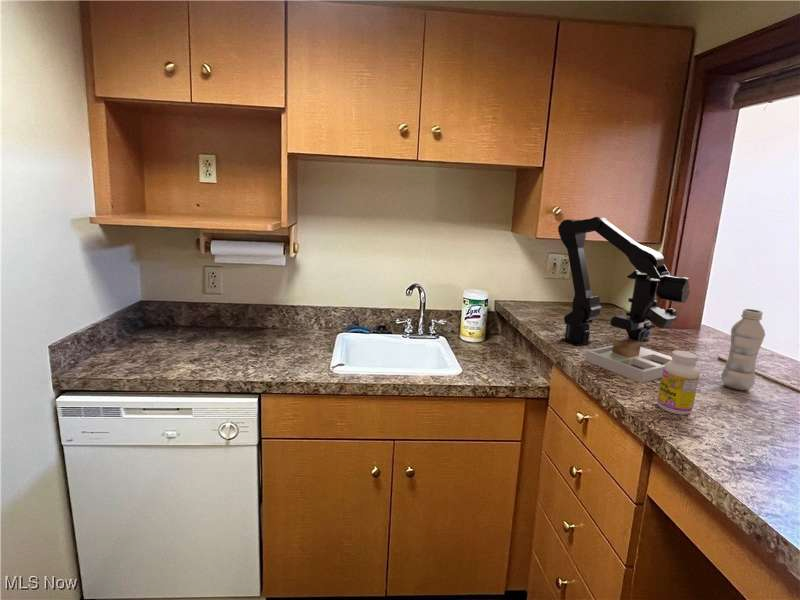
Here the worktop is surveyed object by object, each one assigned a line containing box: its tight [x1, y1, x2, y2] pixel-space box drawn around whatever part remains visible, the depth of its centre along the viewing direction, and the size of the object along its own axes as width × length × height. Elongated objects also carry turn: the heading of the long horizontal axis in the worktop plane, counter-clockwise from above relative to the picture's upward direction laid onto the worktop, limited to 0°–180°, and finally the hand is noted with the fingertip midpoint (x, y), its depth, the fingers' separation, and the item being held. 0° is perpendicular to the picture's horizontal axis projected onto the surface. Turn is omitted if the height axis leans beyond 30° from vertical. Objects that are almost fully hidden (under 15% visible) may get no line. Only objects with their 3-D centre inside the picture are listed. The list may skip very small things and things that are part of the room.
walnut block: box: [612, 336, 642, 358], centre depth 127 cm, size 5×5×4 cm
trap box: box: [584, 344, 672, 384], centre depth 124 cm, size 17×22×3 cm
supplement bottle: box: [656, 349, 701, 416], centre depth 97 cm, size 7×7×13 cm
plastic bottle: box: [720, 308, 766, 391], centre depth 109 cm, size 6×7×20 cm
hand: (635, 348), depth 129 cm, fingers closed
